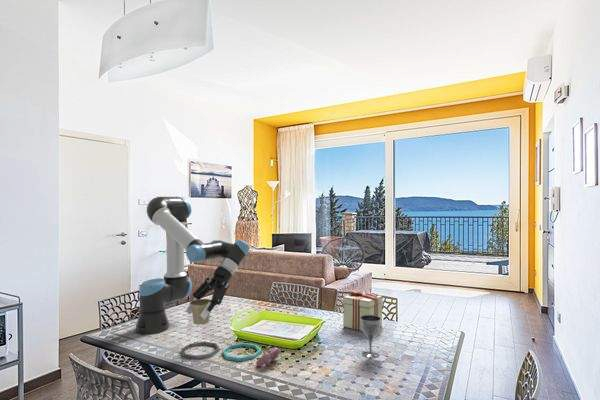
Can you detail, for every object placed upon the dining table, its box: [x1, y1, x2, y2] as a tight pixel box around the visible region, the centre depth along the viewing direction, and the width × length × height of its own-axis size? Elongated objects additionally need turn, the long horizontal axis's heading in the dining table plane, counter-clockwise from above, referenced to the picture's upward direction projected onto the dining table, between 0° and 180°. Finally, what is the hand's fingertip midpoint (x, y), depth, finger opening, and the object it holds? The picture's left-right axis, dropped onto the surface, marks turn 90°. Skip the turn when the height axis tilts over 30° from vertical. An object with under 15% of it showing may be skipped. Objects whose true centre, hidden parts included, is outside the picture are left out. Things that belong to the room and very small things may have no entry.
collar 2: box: [221, 342, 262, 362], centre depth 153 cm, size 15×15×1 cm
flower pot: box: [189, 298, 212, 326], centre depth 154 cm, size 9×9×9 cm
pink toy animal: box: [255, 346, 282, 367], centre depth 143 cm, size 10×5×7 cm, turn 149°
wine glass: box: [361, 315, 381, 359], centre depth 151 cm, size 8×8×15 cm
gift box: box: [342, 289, 384, 332], centre depth 187 cm, size 17×18×17 cm
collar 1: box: [180, 340, 221, 360], centre depth 154 cm, size 15×15×1 cm
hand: (194, 315), depth 152 cm, fingers closed on flower pot, 9 cm apart
